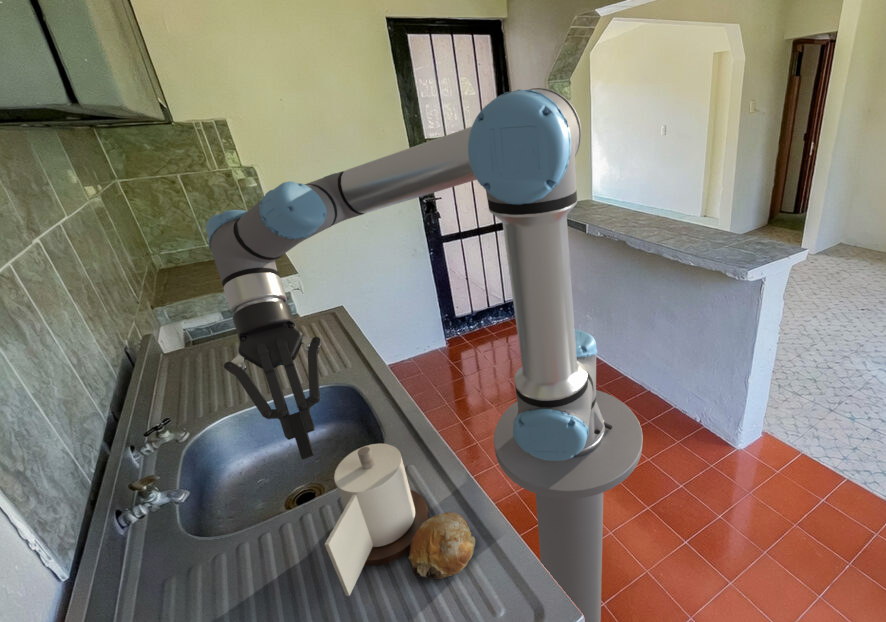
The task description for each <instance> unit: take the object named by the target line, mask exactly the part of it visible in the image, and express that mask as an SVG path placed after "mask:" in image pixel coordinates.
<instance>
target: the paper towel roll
mask: <svg viewBox="0 0 886 622" xmlns="http://www.w3.org/2000/svg"><path fill="white" fill-rule="evenodd" d="M363 447H369V448H370V451H371V454H372V458H373V461H374V465H373V467H372V468H370V469H363V468H362V466H361V462H360V459H359V456H358V451H359V449H361V448H363ZM333 479H334V484H335V486H336V488H337V492H338V495H339V497H340V500H341V503H342V506H343V508H344V510H343V511H342V513H341V514H340V515H339V518H338V520H337V522H336V523H335V525H334V527H333V528H332V530H331V531H330V534H329V536H328V537H327V539H326V541H325V543H324V546H325V549H326V551H327V553H328V557H329V558H330V560H331V564H332V566H333V569H334V570H335V573H336V575H337V578H338V581H339V582H340V585H341V588H342V590H343V592H344V595H345V597H350V596H351V594H352V592H353V590H354V588H355V586H356V584H357V581H358V579H359V577H360V575H361V573H362V571H363V568H364V566H365V565H364V564H365V562H366V560H367V558H368V556H369V553H370V551H371V549H372V547H380V546H384V545H387V544H390V543H392V542H394V541H396V540H397V539H399V538H400V537H401V536H403V535H404V534H405V533H406V532H407V531H408V529H409V528H410V527H411V525H412V523H413V521H414V518H415V507H414V503H413V499H412V496H411V492H410V490H411V487H410V485H409V480H408V477H407V472H406V469H405V465H404V461H403V457H402V454H401V452H400V450H399V449H398V448H397V447H396V446H394V445H391V444H387V443H372V444H369V445H364V446H362V447H360V448H357V449H355V450H353V451H351V452H350V453H349V454H347V455H346V456H345V457H344V458H343V459H342V460H341V461H340V462H339V463H338V465H337V466H336V469H335V471H334V474H333Z"/></svg>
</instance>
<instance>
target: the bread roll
mask: <svg viewBox="0 0 886 622" xmlns="http://www.w3.org/2000/svg"><path fill="white" fill-rule="evenodd" d="M475 547H476V538H475V535H474V536H473V535H472V532H471V529H470V527H469V525H468V523H467V521H466V519H465V518H464V517H463V516H462V515H461V514H459V513H456V512H453V511H448V512H441V513H439V514H436V515H434V516H432V517H429V519H428V520H426V521H425V522H424V523H422V525H421V526H420V527H419V529H418V530H417V531H416V533H415V535H414V537H413V539H412V542H411V543H410V551H409V556H408V557H407V559H408V560H409V561H410V564H411V567H412V574H413V575H414V576H416V577H423V578H425V579H428V580H435V579H436V580H442V579H446V578H448V577H451V576H454V575H457V574H459V573H460V572H462V571H463V569H464V568H465V567H467V565H468V563H469V562H470V561H471V559H472V557H473V555H474V551H475Z"/></svg>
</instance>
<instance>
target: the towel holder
mask: <svg viewBox="0 0 886 622" xmlns="http://www.w3.org/2000/svg"><path fill="white" fill-rule="evenodd" d="M362 447H363V448H362ZM362 447H360V448H361V449H359V448H358V449H359V451H358V456H359V459H360V462H361V466H362V468H363V469H370V468H372V467H373V465H374V461H373V458H372V454H371V451H370V448H369V447H364V446H362ZM410 492H411V496H412V499H413V503H414V507H415V518H414V521H413V523H412V525H411V527H410V528H409V529H408V531H407V532H406V533H405V534H404V535H403V536H401V537H400V538H399V539H397V540H396V541H394V542H392V543H390V544H387V545H384V546H380V547H372V549H371V551H370V553H369V556H368V558H367V560H366V562H365V564H364V566H367V567H368V566H369V567H372V566H373V567H374V566H375V567H376V566H382V565H386V564H389V563H392V562H394V561H397V560H398V559H400V558H403V557H404V556H405V555H407V554H408V553H410V543H411V542H412V539H413V537H414V535H415V533H416V531H417V530H418V529H419V527H420V526H421V525H422V523H424V522H425V521H426V520H428V519H429V518H430V514H429V509H428V505H427V502H426V500H425V499H424V497H423V496H422V495H421V494H420V493H419V492H417V491H415V490H413V489H410Z"/></svg>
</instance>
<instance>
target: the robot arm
mask: <svg viewBox="0 0 886 622" xmlns="http://www.w3.org/2000/svg"><path fill="white" fill-rule="evenodd" d="M581 143H582V124H581V119H580V117H579V114H578V112H577V110H576V109H575V107H574V106H573V104H572V103H571V101H570V100H568V99H567V98H566V97H565V96H564V95H562V94H561V93H560V92H557V91H555V90H553V89H549V88H543V87H541V88H540V87H536V88H529V89H515V90H513V91H506V92H504V93H502V94H500V95H498V96H497V97H495V98H494V99H492V100H491V101H490V102H488V104H486V105H485V106H484V107H483V108H482V109H481V110H480V112H479V113H478V114H477V116H476V117H475V119H474V121H473V123H472V125H471V126H469V127H467V128H463V129H461V130H457V131H454V132H452V133H449V134H445V135H442V136H440V137H437V138H434V139H431V140H429V141H426V142H422V143H420V144H418V145H414V146H412V147H411V146H410V147H408V148H405V149H402V150H400V151H397V152H394V153H391V154H388V155H384V156H383V157H379V158H377V159H373V160H371V161H367V162H365V163H363V164H362V163H361V164H360V165H356V166H353V167H351V168H347V169H346V170H343V171H339V172H334V173H330V174H329V175H326V176H323V177H321V178H319V179H316V180H313V181H310V182H307V183H299V182H296V181H292V180H290V181H284V182H282V183H281V184H279V185H277V186H276V187H275V188H273V189H270V190H269V191H267V192H266V193H265V194H264V196H262V198H261V199H260V200H258V201H257V203H255V204H254V205H253V206H252V207H251V208H249V210H244V209H231V210H230V209H229V210H225V211H222V213H215V214H214V215H213V216H211V217H210V218H208V221H207V222H206V225H205V231H206V235H207V237H208V248H209V250H210V252H211V255H212V258H213V261H214V264H215V266H216V270H217V272H218V276H219V278H220V281H221V282H220V283H221V285H222V287H223V292H224V296H225V298H226V302H227V305H228V309H229V311H230V313H231V314H233V316H232V321H233V325H234V327H235V331H236V334H237V337H238V340H239V345H238V348H237V352H238V354H237V355H236V356H235V357H234V358H233V359H232V360H231V361H226V362H225V363H224V364H223V368H224V370H226V371H227V372H228V373H230V374H232V375H233V376H234V377H236V379H237V380H238V382H239V383H240V384H241V386H242V387H243V389H244V391H245V392H246V394H247V395H248V397H249V398H250V400H251V401H252V403H253V404H254V406H255V407H256V409H257V410H258V411H259V413H260V414H261V416H262V417H263V418H264V419H266V420H275V419H277V420H279V423H280V425H281V428H282V431H283V435H284V437H285V438H286V439H287V440H288V441H290V440H293V439H295V442H296V445H297V448H298V452H299V455H300V458H301V460H305V459H309V458H311V457H313V456H316V455H315V452H314V449H313V445H312V442H311V440H310V436H309V433H311V432H314V431H315V426H316V425H315V423H314V420H313V417H312V414H311V408H312V407H313V406H315V405H316V404H318V403H319V402H320V400H321V394H320V392H321V391H320V374H319V373H320V372H319V353H320V350H321V347H322V341H321V338H320V337H318V336H314V337H310V336H307V335H304V334H303V332H302V331H301V330H300V329H299V328H298V327H297V324H296V321H295V318H294V315H293V312H292V310H291V306H290V304H289V303H287V302H288V298H287V294H286V291H285V288H284V285H283V282H282V279H281V276H280V273H279V271H278V268H277V264H276V260H278V259H280V258H281V257H283V256H284V255H285V254H286V253H287V252H289V251H290V250H292V249H293V248H295V247H296V246H297V245H299V244H300V243H302V242H303V241H306V240H308V239H310V238H312V237H313V236H315V235H317V234H319V233H322V232H324V231H325V230H327V229H329V228H331V227H333V226H335V225H337V224H339V223H342V222H344V221H346V220H350V219H353V218H356V217H359V216H363V215H365V214H367V213H371V212H374V211H377V210H381V209H385V208H387V207H391V206H394V205H398V204H401V203H405V202H407V201H411V200H414V199H418V198H421V197H424V196H428V195H430V194H434V193H437V192H440V191H444V190H447V189H450V188H454V187H457V186H460V185H463V184H467V183H471V182H473V181H477V182H478V184H479V185H480V186H481V187H482V188H483V189H484V190H485V193H486V194H485V195H486V200H487V206H488V211H489V213H491V214H492V216H494V217H496V218H497V219H499V221H501V223H502V228H503V229H502V230H503V237H504V243H505V252H506V259H507V265H508V273H509V282H510V288H511V295H512V303H513V310H514V317H515V324H516V332H517V338H518V339H517V340H518V346H519V353H520V361H521V366H520V367H519V368H518V370H517V371H516V372H515V374H514V387H515V388H514V389H515V395H516V402H517V403H518V414H517V416H516V418H515V419H514V424H513V426H514V427H513V436H514V439H515V441H516V443H517V444H518V445H519V447H520V448H521V449H522V450H524V451H525V452H527V453H529V454H531V455H532V456H534V457H536V458H539V459H542V460H547V461H562V460H567V459H570V458H576V457H580V456H584V455H586V454H589V453H590V452H592V451H594V450H595V449H596V448H597V447H598V446H599V445H600V444H601V442H602V441H603V438H604V431H605V428H607V429H610V430H611V429H612V425H610V424H607V423H605V422H604V420H603V417H602V415H601V412H600V410H599V407H598V405H597V402H596V390H597V355H598V352H599V351H598V349H597V342H596V339H595V337H594V336H593V335H591V334H590V333H588V332H585V331H584V330H580V329H575V328H576V327H575V315H574V313H575V312H574V300H573V288H572V287H573V286H572V272H571V256H570V244H569V230H568V214H569V213H570V212H571V211H572V210H573V209H574V207H576V206H577V204H578V193H577V189H578V187H577V170H576V156H577V155H578V152H579V150H580V146H581ZM302 344H303V348H304V350H305V351H306V352H307V371H308V373H307V374H308V391H309V392H308V394H309V395H308V396H307V397H306V395H305V392H304V389H303V386H302V383H301V379H300V377H299V374H298V371H297V367H296V364H295V362H294V361H295V360H296V358H297V356H298V354H299V351H300V349H301V347H302ZM246 361H248V362H250V363H251V364H253V365H255V366H256V367H258V368H259V369H261V370H263V373H264V376H265V379H266V382H267V386H268V388H269V392H270V394H271V395H270V396H271V398H272V401H273V405H274V407H275V408H272V407H271V406H270V404H269V403H268V402H267V400H266V399H265V397H264V396H263V394H262V393H261V391H260V390H259V388H258V387H257V385H256V384H255V382H254V381H253V379H252V378H251V376H250V375H249V374H248V373H247V372H246V371H247V369H248V365H247V364H246ZM280 366H283V367H284V370H285V373H286V376H287V379H288V383H289V385H290V386H289V387H290V389H291V393H292V394H293V397H294V398H293V399H294V401H295V403H296V408H297V409H298V411H297V412H294V413H290V411H289V407H288V405H287V402H286V397H285V395H284V392H283V388H282V386H281V383H280V379H279V376H278V373H277V367H280Z"/></svg>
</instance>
